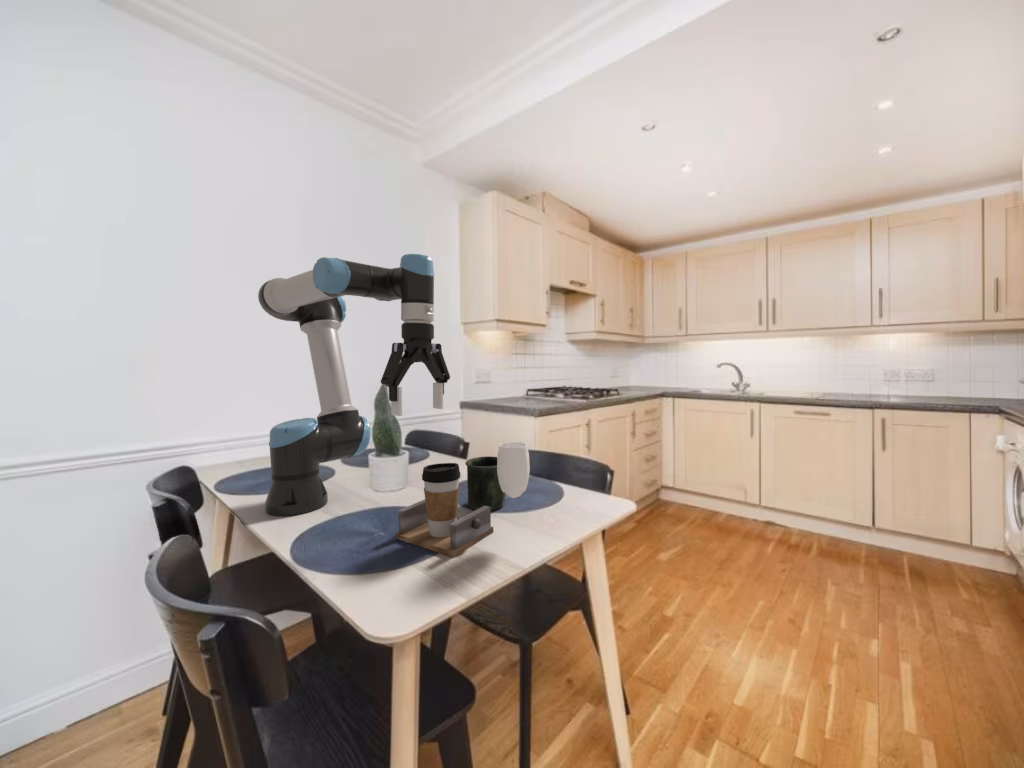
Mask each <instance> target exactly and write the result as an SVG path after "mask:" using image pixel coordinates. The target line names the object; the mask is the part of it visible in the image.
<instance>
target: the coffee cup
mask: <svg viewBox="0 0 1024 768" xmlns="http://www.w3.org/2000/svg"><path fill="white" fill-rule="evenodd" d="M460 478H461V471H460V465H459V464H458V463H456V462H445V463H444V462H443V463H442V462H440V463H433V464H428V465H426V466H424V467H423V470H422V474H421V480H422V481H423V483H424V488H423V493H424V499H425V501H426V509H427V517H428V525H429V533H430V535H431V536H433V537H448V536H450V524H451V523H453V522H455V521H457V518H458V507H459V506H458V505H459V493H460V485H459V480H460Z"/></svg>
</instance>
